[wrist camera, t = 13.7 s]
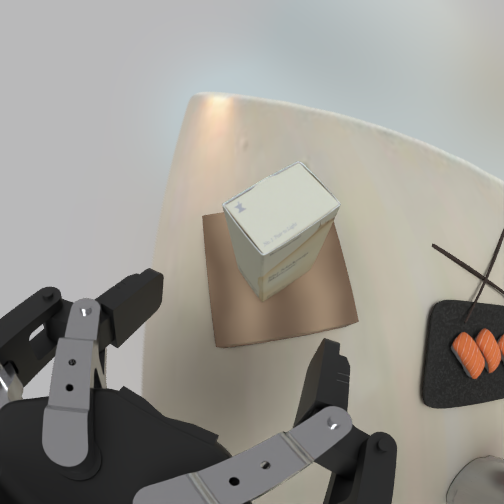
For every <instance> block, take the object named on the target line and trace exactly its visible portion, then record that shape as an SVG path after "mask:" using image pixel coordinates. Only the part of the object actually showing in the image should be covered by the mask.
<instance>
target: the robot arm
mask: <svg viewBox="0 0 504 504" xmlns="http://www.w3.org/2000/svg"><path fill="white" fill-rule="evenodd" d="M163 279H164V277H163V274H161V273H159V272H157V271H155V270H153V269H150V268H149V269H146V270H145V271H144V272H142V273H141V274H134V275H130V276H127V277H126V278H125V279H123V280H122V281H121V282H119V283H117V284H116V285H115V286H113V287H112V288H110V289H109V290H108V291H106V292H105V293H103V294H102V295H101V296H99V297H98V298H96V299H95V300H93V299H89V298H84V299H80V300H78V301H76V302H75V303H73V302H69V301H67V300H64V299H62V297H61V292H60V291H59V290H58V289H57V288H55V287H45V288H42V289H40V290H39V291H37V292H36V293H35V294H33V295H32V296H31V297H29V298H28V299H26V300H25V301H24V302H22V303H21V304H19V305H18V306H17V307H15V309H13V310H11V311H10V312H9V313H7V314H6V315H5V316H3V317H2V318H1V319H0V504H252V502H251V501H253V500H255V499H257V498H259V497H260V496H262V495H264V494H266V493H267V492H269V491H271V490H272V489H274V488H276V487H277V486H279V485H280V484H282V483H284V482H285V481H287V480H288V479H290V478H291V477H293V476H294V475H296V474H297V473H299V472H300V471H302V470H303V469H305V468H306V467H307V466H309V465H310V464H312V463H313V462H316V463H318V464H319V465H321V466H323V467H325V468H326V469H328V470H330V471H332V474H331V477H330V481H329V485H328V488H327V492H326V495H325V499H324V502H323V504H391V502H392V495H393V488H394V479H395V469H396V456H397V445H396V442H395V440H394V439H393V438H392V437H391V436H390V435H389V434H387V433H384V432H376V433H374V434H372V435H371V436H370V435H368V434H366V433H364V432H363V431H361V430H359V429H357V428H356V427H355V426H354V425H353V424H352V419H351V417H350V415H349V414H348V413H347V407H348V394H349V379H350V377H349V376H350V365H349V362H348V360H347V358H346V357H345V356H341V355H339V350H340V343H338V342H335V341H332V340H329V339H326V338H324V339H323V340H322V342H321V344H320V346H319V348H318V349H317V351H316V353H315V355H314V356H313V358H312V360H311V362H310V364H309V367H308V369H307V373H306V377H305V382H304V386H303V390H302V395H301V399H300V403H299V407H298V411H297V415H296V418H295V422H294V426H293V429H292V430H290V431H288V432H286V433H285V432H281V433H278V434H277V435H275V436H273V437H271V438H269V439H267V440H266V441H264V442H262V443H260V444H258V445H256V446H254V447H252V448H250V449H248V450H246V451H244V452H242V453H240V454H238V455H236V456H234V457H232V455H231V454H230V453H229V452H228V451H227V450H226V449H225V448H224V447H223V446H222V445H221V444H219V443H218V442H217V439H218V436H219V435H217V434H214V433H212V432H210V431H207V430H205V429H203V428H201V427H198V426H196V425H194V424H190V423H186V422H182V421H178V420H174V419H170V418H167V417H165V416H163V415H162V414H161V413H160V412H158V411H157V410H156V409H155V408H154V407H153V406H152V405H151V404H150V403H149V402H148V401H146V400H145V399H144V398H142V397H141V396H139V395H137V394H136V393H134V392H132V391H131V390H129V389H128V388H126V387H124V386H123V387H122V388H121V389H120V391H117V390H113V389H107V386H106V358H107V356H106V355H107V348H106V347H107V346H108V345H109V344H112V345H113V346H115V347H116V348H118V347H120V346H121V345H122V344H123V343H124V342H125V341H126V340H127V339H128V338H129V337H130V336H131V335H132V334H133V333H134V332H135V331H136V330H137V329H138V328H139V327H140V326H141V325H142V324H143V323H144V322H145V321H147V320H148V319H149V318H150V317H151V316H152V315H153V314H154V313H155V312H156V311H157V310H158V309H159V307H160V305H161V302H162V294H163ZM42 324H43V326H44V329H43V330H42V331H41V332H40V333H38V334H37V335H36V336H35V337H34V338H33V339H32V340H30V341H29V337H30V335H31V333H32V332H33V331H35V330H36V329H37V328H38V327H39V326H40V325H42ZM53 357H55V361H54V366H53V371H52V378H51V385H50V393H49V396H48V397H40V398H32V399H23V398H22V393H23V388H24V387H25V386H26V385H27V384H28V382H30V381H31V379H32V378H33V377H34V376H35V375H36V374H37V373H38V372H39V371H40V370H41V369H42V368H43V367H44V366H45V365H46V364H47V363H48V362H49V361H50V360H52V358H53ZM447 503H448V504H504V459H501V458H497V457H494V456H490V455H489V456H487V457H486V458H477V459H475V460H473V461H472V462H470V463H469V464H468V465H467V466H465V467H464V468H463V470H462V471H461V472H460V473H459V474H458V475H457V477H456V478H455V479H454V481H453V482H452V484H451V486H450V488H449V491H448V493H447Z"/></svg>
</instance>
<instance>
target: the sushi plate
mask: <svg viewBox="0 0 504 504" xmlns="http://www.w3.org/2000/svg"><path fill="white" fill-rule="evenodd" d="M503 238H504V229H503V232H502V234H501V237H500V239H499V242H498V245H497V248H496V251H495V254H494V257H493V259H492V262H491V265H490V267H489V270H488V272H487V275H486V277H484V276H482V275H481V274H480V273H478V272H477V271H475V270H474V269H472V268H471V267H470V266H468V265H467V264H465V263H464V262H462V261H460V260H459V259H457V258H456V257H454V256H453V255H451V254H450V253H448V252H446V251H445V250H443V249H442V248H440V247H438V246H437V245H435V244H432V247H433V248H435V249H436V250H438V251H439V252H441V253H442V254H444V255H445V256H447V257H448V258H450V259H451V260H453V261H454V262H455V263H457V264H458V265H460V266H461V267H463V268H465V269H466V270H468V271H469V272H471V273H473V274H474V275H476V276H477V277H479V278H481V279H482V280H484V282H483V284H482V286H481V289H480V291H479V293H478V295H477V297H476V299H475V301H474V302H468V301H459V300H444V301H441V302H438V303H437V304H436V305H435V306H434V308H433V311H432V314H431V319H430V326H429V336H428V346H427V356H426V364H425V373H424V381H423V399H424V402H425V404H426V405H427V406H429V407H432V408H453V407H460V406H467V405H473V404H479V403H484V402H489V401H494V400H498V399H503V398H504V306H501V305H493V304H484V303H476V302H477V300H478V298H479V296H480V294H481V292H482V290H483V288H484V285H485V283H486V282H487V283H488V284H490V285H491V286H493V287H494V288H496V289H497V290H499V291H500V292H501V293H503V294H504V291H503V290H502V289H500V288H499V287H498V286H496V285H495V284H494V283H492V282H491V281H489V280H488V276H489V274H490V272H491V269H492V267H493V264H494V262H495V259H496V257H497V254H498V252H499V249H500V246H501V244H502V241H503Z"/></svg>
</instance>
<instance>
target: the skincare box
mask: <svg viewBox="0 0 504 504" xmlns="http://www.w3.org/2000/svg"><path fill="white" fill-rule="evenodd" d="M340 205H341V204H340V202H339V201H338V200H337V199H336V198H335V197H334V196H333V194H332V193H331V192H330V191H329V190H328V189H327V188H326V187H325V186H324V185H323V183H322V182H321V181H320V180H319V179H318V178H317V177H316V176H315V175H314V174H313V173H312V172H311V171H310V170H309V169H308V168H307V167H306V166H305V165H304V164H303V163H302V162H300V161H297V162H295V163H293V164H291V165H289V166H287V167H285V168H284V169H282V170H280V171H278V172H276V173H274V174H272V175H271V176H269V177H267V178H265V179H263V180H261V181H260V182H258V183H256V184H255V185H253V186H251V187H249V188H248V189H246V190H245V191H243V192H241V193H240V194H238V195H236V196H234V197H233V198H231V199H230V200H228V201H226V202H224V203H223V204H222V206H223V210H224V214H225V218H226V222H227V226H228V230H229V234H230V238H231V242H232V246H233V250H234V254H235V257H236V262H237V266H238V269H239V271H240V272H241V274H242V275H243V277H244V278H245V280H246V281H247V283H248V284H249V285H250V287H251V288H252V290H253V291H254V292H255V294H256V295H257V296H258V298H259V299H260V300H261V301H262V302H264V301H265V300H267V299H268V298H270V297H271V296H273V295H274V294H276V293H277V292H279V291H280V290H282V289H283V288H285V287H286V286H288V285H289V284H291V283H292V282H293V281H295V280H296V279H298V278H299V277H300V276H302V275H303V274H305V273H306V272H307V271H309V270H310V269H311V268H312V266H313V264H314V262H315V260H316V258H317V255H318V253H319V251H320V249H321V247H322V245H323V243H324V241H325V238H326V236H327V234H328V232H329V230H330V228H331V225H332V223H333V221H334V219H335V216H336V214H337V212H338V210H339V207H340Z"/></svg>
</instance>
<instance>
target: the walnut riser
mask: <svg viewBox="0 0 504 504" xmlns="http://www.w3.org/2000/svg"><path fill="white" fill-rule="evenodd" d="M202 218H203V231H204V243H205V254H206V265H207V275H208V284H209V294H210V303H211V311H212V320H213V328H214V336H215V343H216V347H220V348H228V347H236V346H244V345H251V344H257V343H264V342H270V341H276V340H282V339H288V338H293V337H299V336H304V335H309V334H314V333H319V332H324V331H329V330H333V329H338V328H342V327H346V326H348V325H351V324H353V323H356V322H359V321H358V316H357V311H356V306H355V302H354V298H353V293H352V289H351V285H350V281H349V276H348V272H347V268H346V265H345V261H344V257H343V253H342V249H341V246H340V242H339V239H338V235H337V232H336V228H335V225H334V221H333V223H332V225H331V228H330V230H329V232H328V234H327V236H326V238H325V241H324V243H323V245H322V247H321V249H320V251H319V253H318V255H317V258H316V260H315V262H314V264H313V266H312V268H311V269H310V270H309V271H307V272H306V273H305V274H303V275H302V276H300V277H299V278H298V279H296V280H295V281H293V282H292V283H291V284H289V285H288V286H286V287H285V288H283V289H282V290H280V291H279V292H277V293H276V294H274V295H273V296H271V297H270V298H268V299H267V300H265V301H264V302H262V301H261V300H260V299H259V298H258V296H257V295H256V294H255V292H254V291H253V290H252V288H251V287H250V285H249V284H248V283H247V281H246V280H245V278H244V277H243V275H242V274H241V272H240V271H239V269H238V266H237V262H236V257H235V254H234V250H233V246H232V242H231V238H230V234H229V230H228V226H227V222H226V218H225V214H224V212H223V213H216V214H210V215H204V216H202Z"/></svg>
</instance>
